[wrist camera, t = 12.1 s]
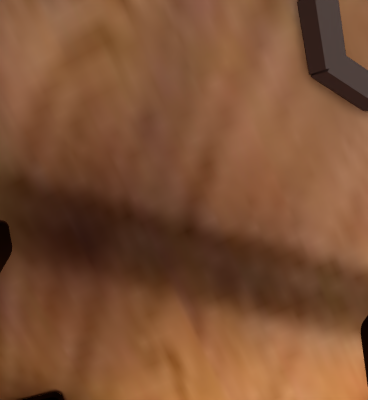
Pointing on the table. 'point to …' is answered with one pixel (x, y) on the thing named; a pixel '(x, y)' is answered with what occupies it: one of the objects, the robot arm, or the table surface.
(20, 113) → the table surface
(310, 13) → the socket ring
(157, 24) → the table surface
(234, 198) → the table surface
